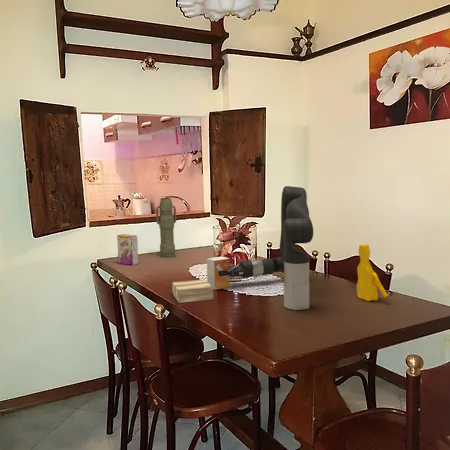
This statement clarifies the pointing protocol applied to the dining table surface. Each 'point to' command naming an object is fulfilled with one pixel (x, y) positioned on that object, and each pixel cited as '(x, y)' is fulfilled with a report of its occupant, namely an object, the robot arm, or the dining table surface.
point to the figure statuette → (367, 277)
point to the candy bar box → (127, 249)
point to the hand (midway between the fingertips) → (216, 271)
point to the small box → (212, 272)
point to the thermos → (166, 227)
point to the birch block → (192, 290)
